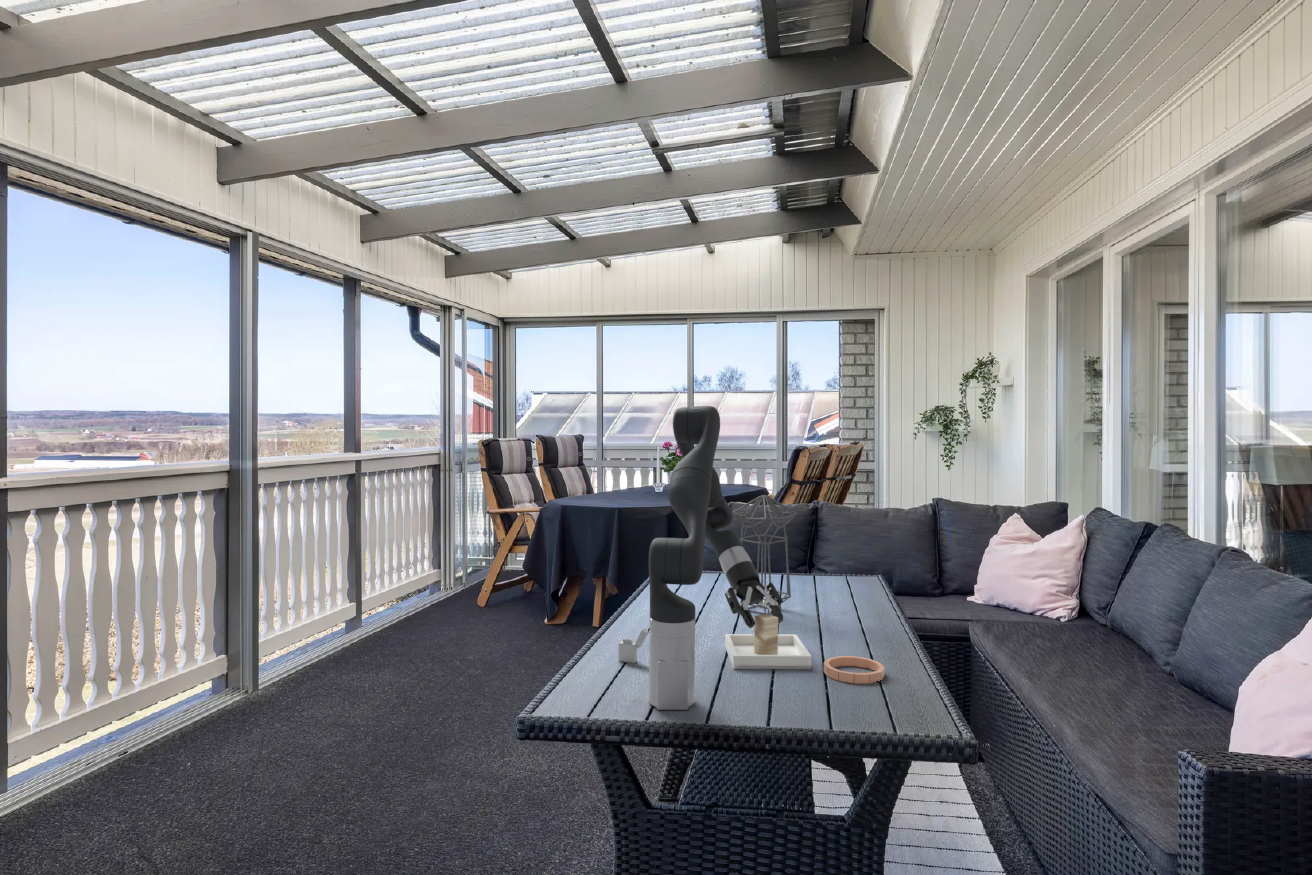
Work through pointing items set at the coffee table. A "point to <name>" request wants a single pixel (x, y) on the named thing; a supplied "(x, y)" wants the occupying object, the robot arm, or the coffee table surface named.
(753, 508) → the geometric lantern
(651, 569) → the robot arm
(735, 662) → the tray
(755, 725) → the coffee table surface
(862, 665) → the orange ring
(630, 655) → the lighter
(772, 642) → the birch block
